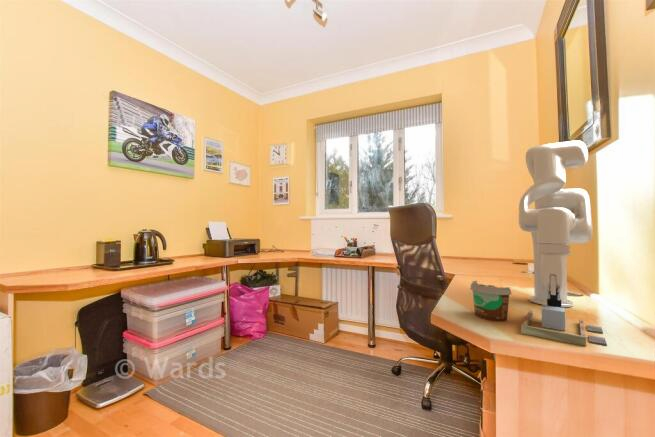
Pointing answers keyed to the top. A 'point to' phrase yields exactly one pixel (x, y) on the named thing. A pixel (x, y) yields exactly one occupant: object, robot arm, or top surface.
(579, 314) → the top surface
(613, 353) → the top surface
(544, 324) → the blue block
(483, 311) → the food container
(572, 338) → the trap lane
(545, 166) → the robot arm
